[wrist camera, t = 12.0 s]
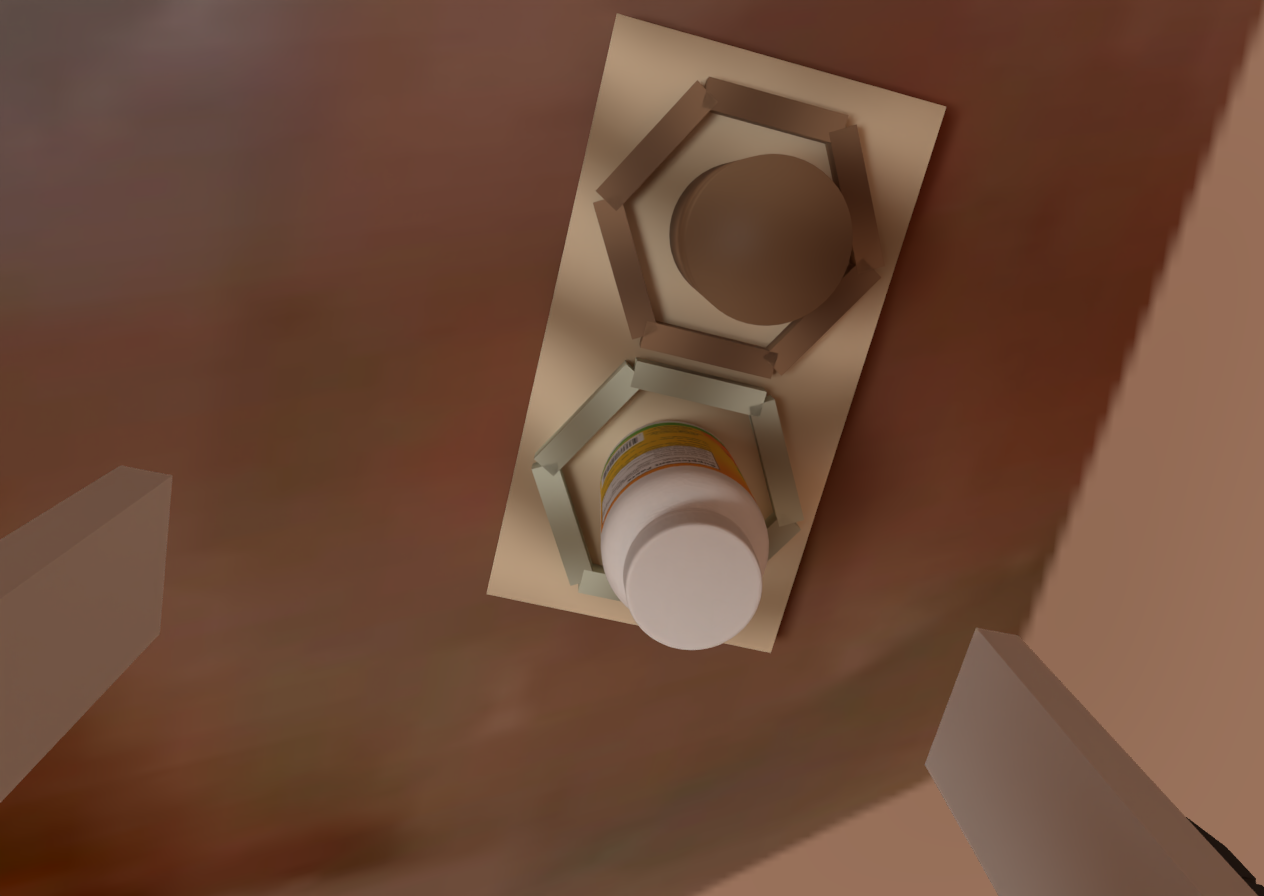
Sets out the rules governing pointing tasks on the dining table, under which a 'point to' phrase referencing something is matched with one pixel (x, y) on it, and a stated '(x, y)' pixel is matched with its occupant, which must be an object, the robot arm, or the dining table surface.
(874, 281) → the board
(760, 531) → the supplement bottle
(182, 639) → the dining table surface
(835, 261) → the walnut dowel stub
